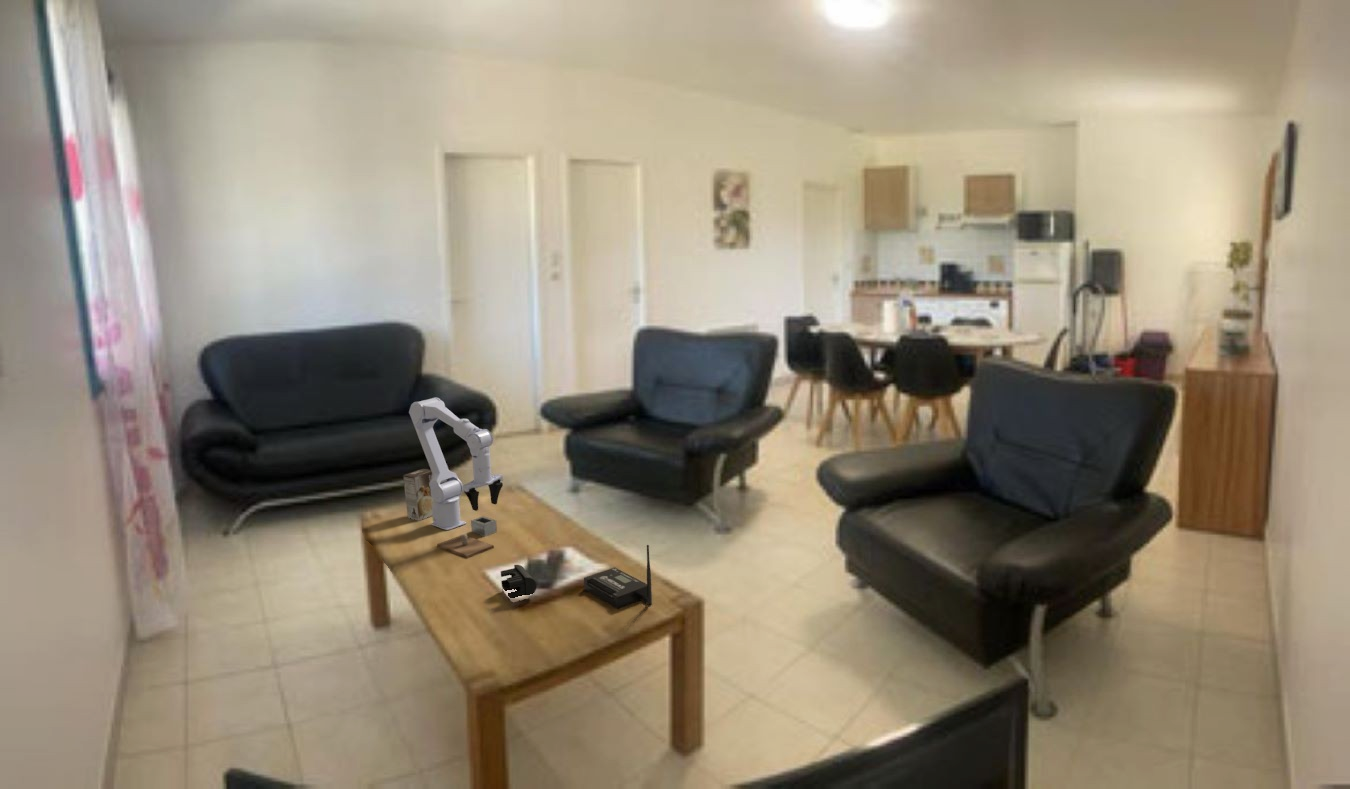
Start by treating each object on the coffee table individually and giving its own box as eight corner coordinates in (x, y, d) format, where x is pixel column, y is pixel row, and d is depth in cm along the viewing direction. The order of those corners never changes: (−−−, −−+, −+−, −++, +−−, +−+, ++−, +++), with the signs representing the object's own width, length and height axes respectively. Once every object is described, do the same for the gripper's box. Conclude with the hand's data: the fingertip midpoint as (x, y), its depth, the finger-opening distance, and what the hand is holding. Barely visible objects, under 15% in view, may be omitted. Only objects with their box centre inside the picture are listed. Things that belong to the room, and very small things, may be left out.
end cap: (537, 598, 216) (536, 574, 215) (512, 604, 213) (510, 580, 212) (526, 584, 225) (524, 562, 224) (501, 590, 222) (499, 567, 220)
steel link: (471, 531, 266) (470, 520, 266) (484, 527, 270) (483, 516, 269) (484, 536, 262) (483, 524, 261) (497, 531, 266) (496, 520, 265)
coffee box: (427, 510, 289) (423, 467, 286) (439, 513, 285) (435, 470, 282) (406, 518, 281) (402, 474, 278) (418, 521, 278) (414, 477, 275)
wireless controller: (579, 592, 219) (575, 534, 216) (620, 578, 228) (617, 521, 225) (621, 618, 204) (618, 555, 201) (664, 601, 213) (662, 541, 210)
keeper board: (437, 546, 255) (436, 534, 254) (463, 536, 262) (462, 525, 261) (467, 558, 245) (466, 545, 244) (493, 547, 252) (492, 535, 251)
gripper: (470, 474, 252) (474, 515, 255) (507, 464, 263) (510, 503, 265) (457, 470, 256) (460, 510, 259) (494, 460, 267) (496, 499, 270)
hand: (484, 506), depth 262 cm, fingers open, 7 cm apart
